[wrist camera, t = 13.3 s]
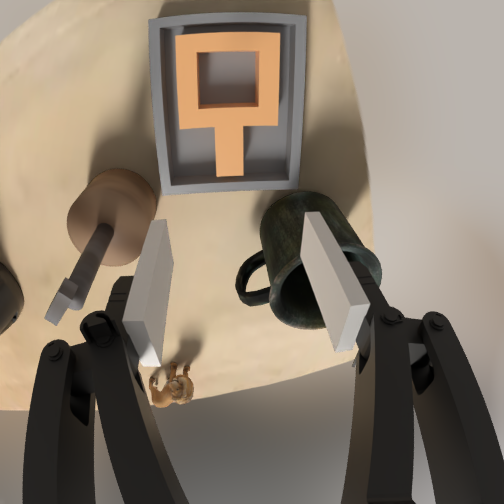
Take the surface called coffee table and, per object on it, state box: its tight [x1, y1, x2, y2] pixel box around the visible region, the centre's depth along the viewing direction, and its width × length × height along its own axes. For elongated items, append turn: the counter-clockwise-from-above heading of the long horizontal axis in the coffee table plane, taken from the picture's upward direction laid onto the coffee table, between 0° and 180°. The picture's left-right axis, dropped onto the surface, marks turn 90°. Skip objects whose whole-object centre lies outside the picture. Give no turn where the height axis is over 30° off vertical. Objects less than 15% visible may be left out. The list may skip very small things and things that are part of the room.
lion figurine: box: [149, 363, 194, 407], centre depth 50 cm, size 15×5×9 cm, turn 144°
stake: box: [45, 169, 157, 326], centre depth 26 cm, size 9×9×18 cm
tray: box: [148, 12, 307, 196], centre depth 27 cm, size 14×18×3 cm
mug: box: [235, 192, 382, 329], centre depth 33 cm, size 11×15×12 cm
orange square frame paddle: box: [175, 32, 280, 177], centre depth 26 cm, size 14×9×3 cm, turn 0°
